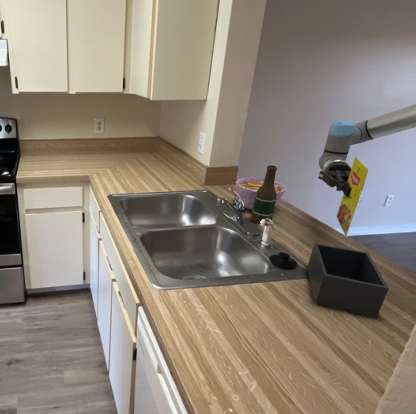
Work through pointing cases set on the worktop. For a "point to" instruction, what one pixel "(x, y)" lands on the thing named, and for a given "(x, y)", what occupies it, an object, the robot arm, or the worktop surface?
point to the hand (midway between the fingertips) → (352, 192)
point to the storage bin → (346, 280)
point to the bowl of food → (255, 190)
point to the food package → (352, 195)
